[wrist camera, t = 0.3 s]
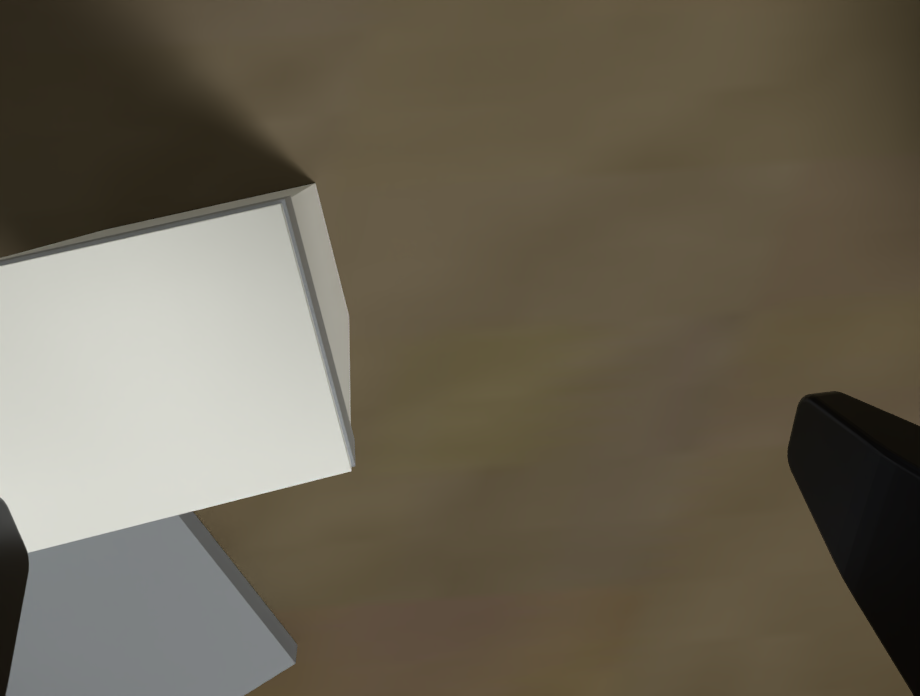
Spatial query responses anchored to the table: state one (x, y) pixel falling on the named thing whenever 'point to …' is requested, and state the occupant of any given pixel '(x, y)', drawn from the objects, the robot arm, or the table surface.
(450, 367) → the table surface
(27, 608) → the docking stand
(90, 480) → the slim case
